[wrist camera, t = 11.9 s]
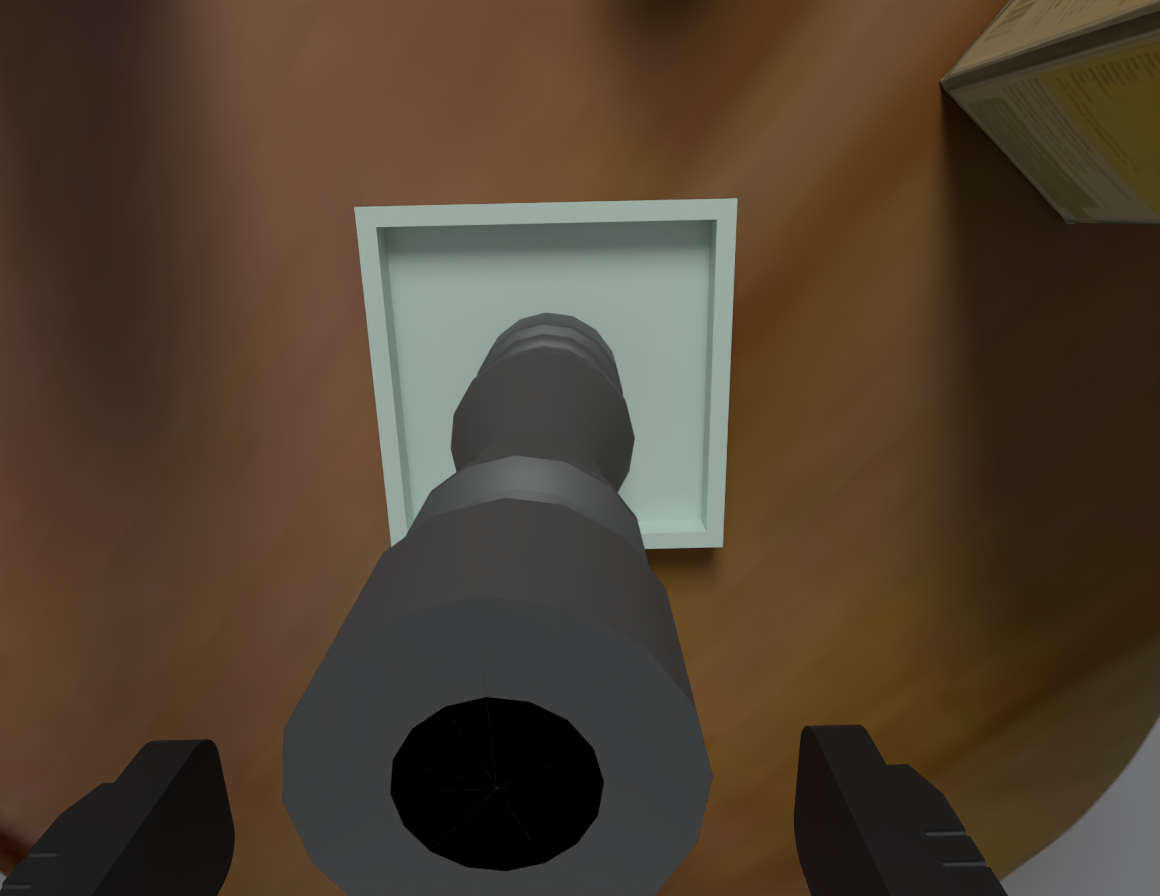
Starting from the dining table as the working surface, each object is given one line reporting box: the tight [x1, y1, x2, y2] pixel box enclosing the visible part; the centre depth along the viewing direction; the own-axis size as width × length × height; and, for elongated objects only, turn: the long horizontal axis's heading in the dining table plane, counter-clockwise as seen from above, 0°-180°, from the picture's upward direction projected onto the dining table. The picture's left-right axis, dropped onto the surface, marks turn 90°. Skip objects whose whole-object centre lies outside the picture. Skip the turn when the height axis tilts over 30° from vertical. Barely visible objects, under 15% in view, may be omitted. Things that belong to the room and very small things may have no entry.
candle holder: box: [282, 312, 713, 896], centre depth 22 cm, size 6×6×25 cm
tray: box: [354, 198, 737, 549], centre depth 33 cm, size 16×16×2 cm
